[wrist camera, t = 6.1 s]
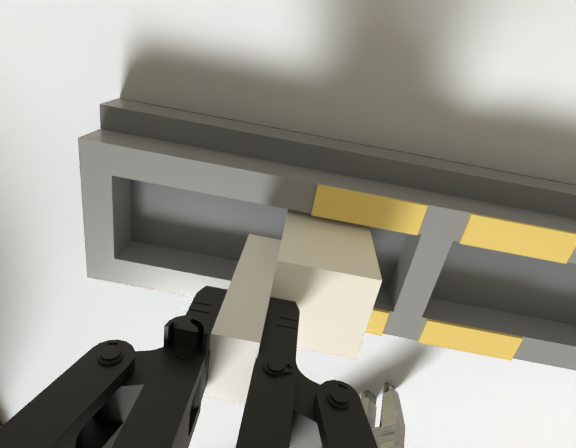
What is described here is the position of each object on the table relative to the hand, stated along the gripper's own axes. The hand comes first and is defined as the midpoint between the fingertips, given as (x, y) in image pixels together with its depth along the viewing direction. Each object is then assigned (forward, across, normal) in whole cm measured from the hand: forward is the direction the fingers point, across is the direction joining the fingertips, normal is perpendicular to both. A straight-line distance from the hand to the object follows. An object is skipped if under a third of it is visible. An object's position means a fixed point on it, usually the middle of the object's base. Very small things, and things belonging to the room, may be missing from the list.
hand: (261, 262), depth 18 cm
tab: (+3, -3, 0) cm, 4 cm away
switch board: (+6, -8, 0) cm, 10 cm away
